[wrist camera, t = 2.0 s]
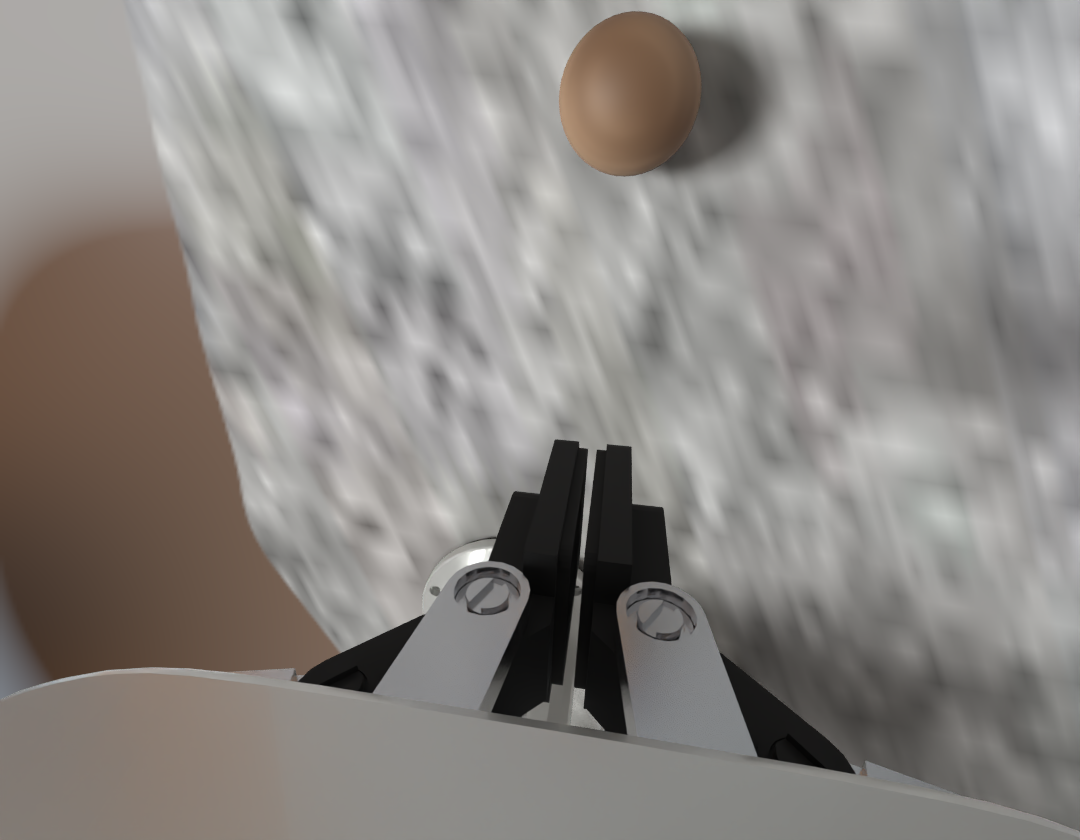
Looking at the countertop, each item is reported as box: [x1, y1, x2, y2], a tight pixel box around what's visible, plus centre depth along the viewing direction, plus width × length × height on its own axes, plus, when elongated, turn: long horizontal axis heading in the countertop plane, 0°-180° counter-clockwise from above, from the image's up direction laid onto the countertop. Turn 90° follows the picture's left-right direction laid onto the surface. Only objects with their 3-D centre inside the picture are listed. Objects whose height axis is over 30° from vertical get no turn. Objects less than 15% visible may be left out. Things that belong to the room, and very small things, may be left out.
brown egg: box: [559, 11, 701, 176], centre depth 21 cm, size 6×6×6 cm
